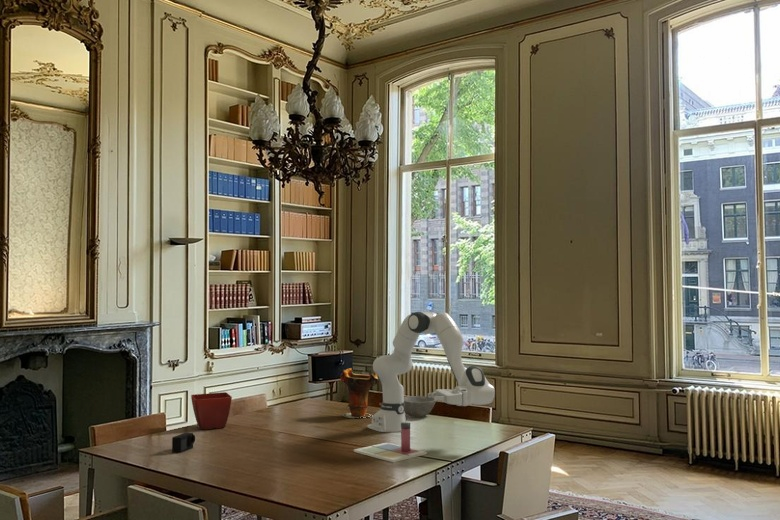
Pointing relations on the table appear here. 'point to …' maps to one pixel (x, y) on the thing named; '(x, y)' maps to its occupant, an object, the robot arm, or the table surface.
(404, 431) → the marker
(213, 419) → the plant pot
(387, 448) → the picture board
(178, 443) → the digital camera
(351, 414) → the decorative vase
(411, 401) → the ceramic bowl
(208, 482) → the table surface
